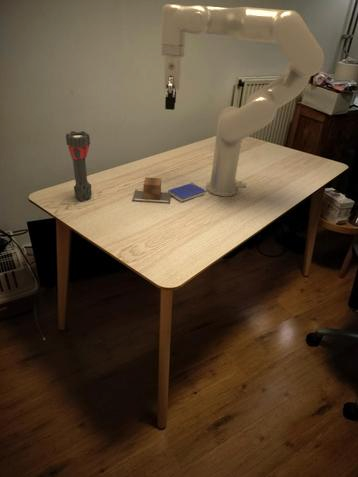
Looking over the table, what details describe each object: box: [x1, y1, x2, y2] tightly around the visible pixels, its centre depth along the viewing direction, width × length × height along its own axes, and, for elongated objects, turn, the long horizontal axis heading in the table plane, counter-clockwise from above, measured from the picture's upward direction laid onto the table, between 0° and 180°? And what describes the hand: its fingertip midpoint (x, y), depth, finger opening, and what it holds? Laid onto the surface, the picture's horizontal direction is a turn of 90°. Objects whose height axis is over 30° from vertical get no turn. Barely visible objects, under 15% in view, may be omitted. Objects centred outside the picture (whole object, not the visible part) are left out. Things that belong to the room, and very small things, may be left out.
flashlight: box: [65, 130, 92, 202], centre depth 115 cm, size 8×8×23 cm
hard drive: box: [167, 182, 207, 202], centre depth 127 cm, size 2×8×12 cm
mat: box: [131, 188, 172, 205], centre depth 124 cm, size 14×9×1 cm, turn 89°
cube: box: [142, 177, 162, 200], centre depth 122 cm, size 6×6×6 cm
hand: (170, 105), depth 117 cm, fingers open, 9 cm apart
